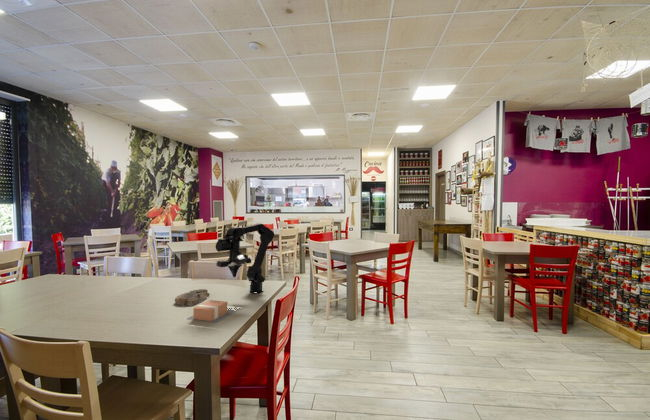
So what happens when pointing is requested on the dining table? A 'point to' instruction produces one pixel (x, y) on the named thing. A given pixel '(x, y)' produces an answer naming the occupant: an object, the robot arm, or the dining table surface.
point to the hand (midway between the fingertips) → (234, 277)
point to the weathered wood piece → (192, 297)
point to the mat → (218, 317)
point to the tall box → (210, 310)
